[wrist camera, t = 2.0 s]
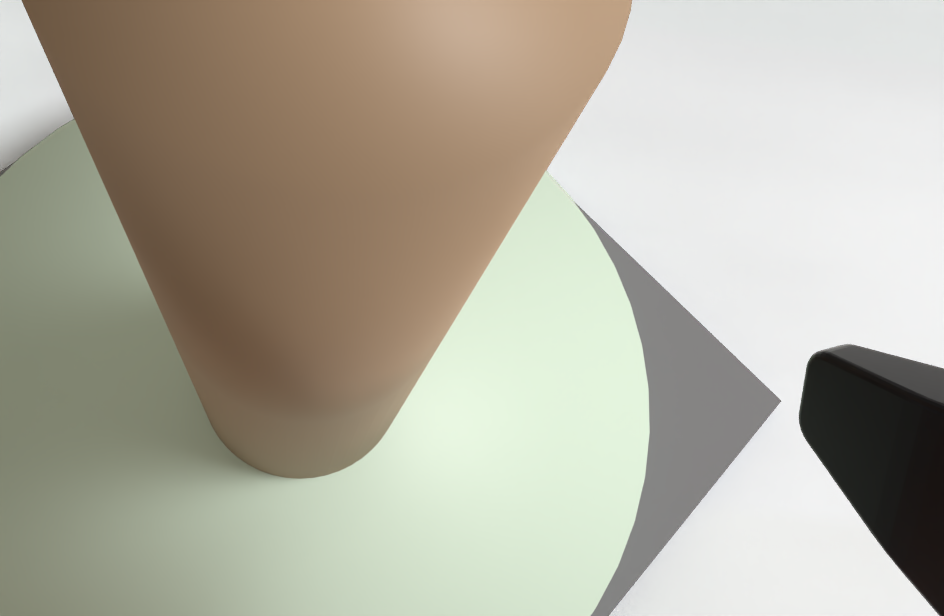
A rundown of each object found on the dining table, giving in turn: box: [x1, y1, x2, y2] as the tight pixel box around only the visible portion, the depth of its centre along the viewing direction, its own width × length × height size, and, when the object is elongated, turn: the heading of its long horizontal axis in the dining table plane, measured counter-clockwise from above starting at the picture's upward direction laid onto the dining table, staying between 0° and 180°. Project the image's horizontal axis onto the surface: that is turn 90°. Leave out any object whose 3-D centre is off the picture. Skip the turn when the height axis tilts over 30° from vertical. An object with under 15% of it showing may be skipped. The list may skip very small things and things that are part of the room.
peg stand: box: [0, 0, 650, 616], centre depth 12 cm, size 15×15×14 cm
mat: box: [0, 162, 781, 616], centre depth 19 cm, size 16×16×1 cm
